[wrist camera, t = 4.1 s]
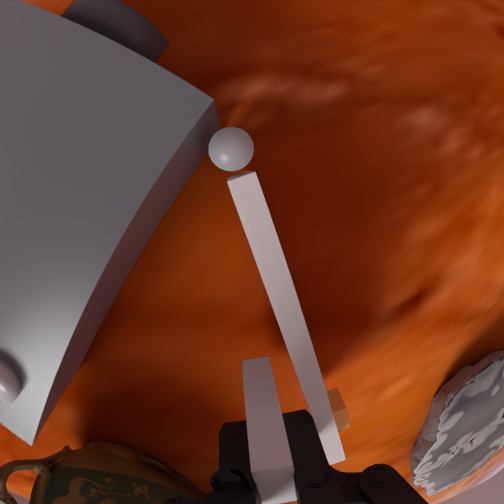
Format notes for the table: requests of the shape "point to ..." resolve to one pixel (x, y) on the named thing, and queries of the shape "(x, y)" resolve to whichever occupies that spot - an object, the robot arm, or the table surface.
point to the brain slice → (461, 426)
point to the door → (279, 286)
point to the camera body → (80, 182)
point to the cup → (100, 477)
